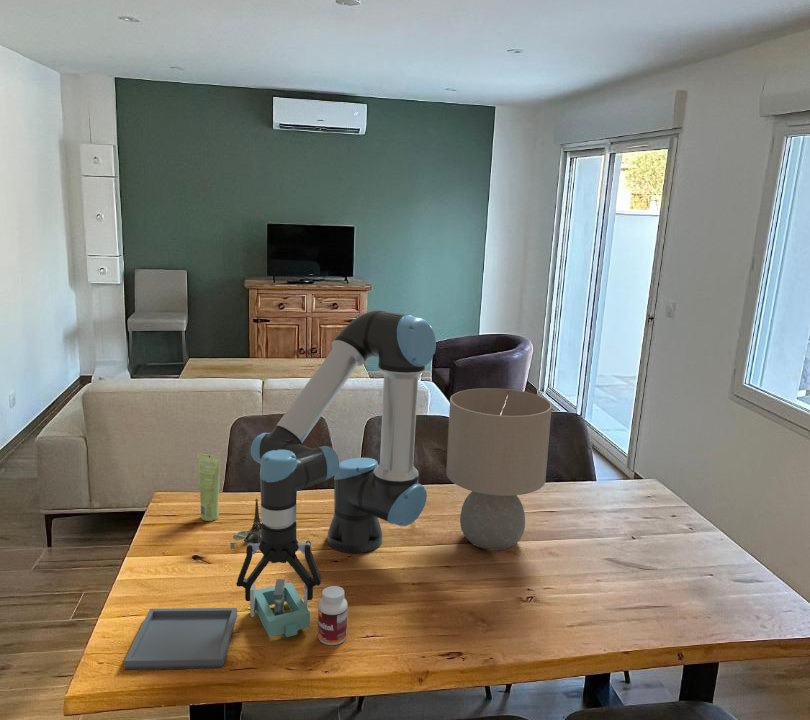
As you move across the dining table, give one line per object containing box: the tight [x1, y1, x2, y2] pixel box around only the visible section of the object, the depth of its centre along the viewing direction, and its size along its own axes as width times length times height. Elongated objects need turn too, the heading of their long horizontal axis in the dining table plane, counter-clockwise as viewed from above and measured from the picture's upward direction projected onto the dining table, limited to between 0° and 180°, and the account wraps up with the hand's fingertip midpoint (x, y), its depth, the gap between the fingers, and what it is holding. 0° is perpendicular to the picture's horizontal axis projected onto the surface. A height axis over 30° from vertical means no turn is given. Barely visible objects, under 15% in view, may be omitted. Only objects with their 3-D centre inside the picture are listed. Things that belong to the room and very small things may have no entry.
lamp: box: [445, 387, 553, 551], centre depth 190 cm, size 27×27×41 cm
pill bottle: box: [317, 585, 348, 646], centre depth 148 cm, size 6×6×11 cm
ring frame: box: [255, 582, 311, 638], centre depth 153 cm, size 15×9×4 cm, turn 27°
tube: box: [197, 452, 222, 522], centre depth 201 cm, size 6×5×20 cm
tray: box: [123, 607, 238, 671], centre depth 146 cm, size 19×18×2 cm
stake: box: [273, 578, 287, 616], centre depth 155 cm, size 4×6×8 cm
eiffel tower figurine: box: [229, 495, 262, 550], centre depth 191 cm, size 15×10×13 cm
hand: (279, 612), depth 155 cm, fingers closed on ring frame, 11 cm apart
